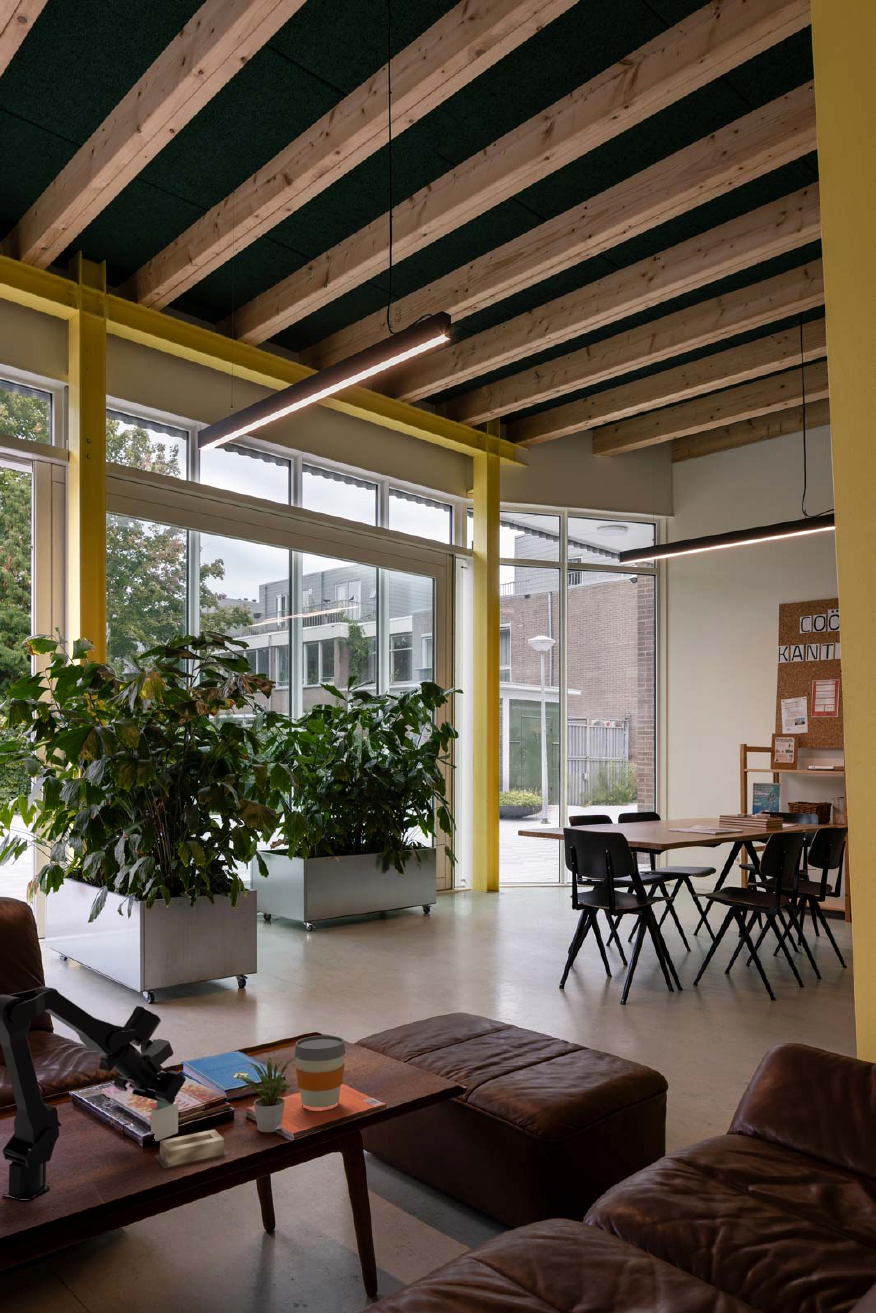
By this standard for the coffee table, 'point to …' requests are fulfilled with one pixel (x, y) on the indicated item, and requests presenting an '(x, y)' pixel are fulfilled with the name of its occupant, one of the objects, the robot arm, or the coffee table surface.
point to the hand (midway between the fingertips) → (169, 1100)
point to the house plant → (268, 1096)
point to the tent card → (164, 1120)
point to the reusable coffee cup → (320, 1069)
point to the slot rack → (191, 1147)
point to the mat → (186, 1162)
